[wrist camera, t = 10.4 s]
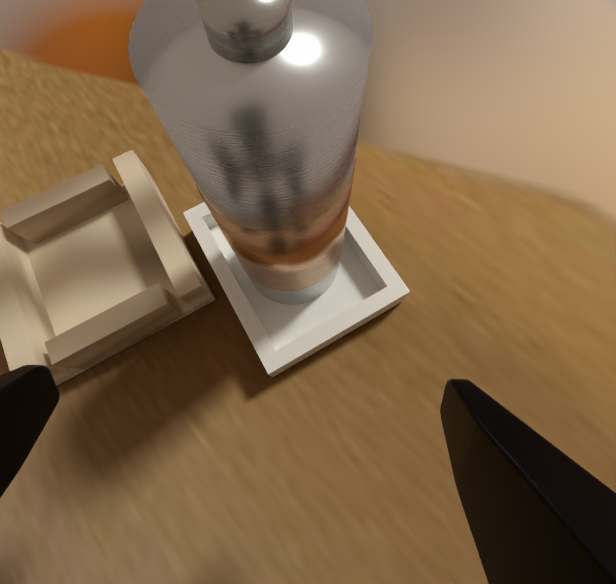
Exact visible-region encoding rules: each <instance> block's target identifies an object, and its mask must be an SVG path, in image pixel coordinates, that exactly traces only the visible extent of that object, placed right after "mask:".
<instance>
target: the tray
mask: <svg viewBox="0 0 616 584" xmlns="http://www.w3.org/2000/svg"><path fill="white" fill-rule="evenodd" d="M183 214H184V215H185V217H186V219H187V221H188V223H189V225H190V227H191V229H192V231H193V233H194V234H195V236H196V238H197V240H198V242H199V244H200V246H201V248H202V250H203V252H204V253H205V255H206V257H207V259H208V261H209V263H210V265H211V267H212V269H213V270H214V272H215V274H216V276H217V278H218V280H219V282H220V284H221V286H222V288H223V289H224V291H225V293H226V295H227V297H228V299H229V301H230V303H231V305H232V307H233V308H234V310H235V312H236V314H237V316H238V318H239V320H240V322H241V324H242V326H243V327H244V329H245V331H246V333H247V335H248V337H249V339H250V341H251V343H252V344H253V346H254V348H255V350H256V352H257V354H258V356H259V358H260V360H261V362H262V363H263V365H264V367H265V369H266V371H267V373H268V375H270V376H272V377H274V376H276V375H278V374H280V373H281V372H283V371H285V370H286V369H288V368H290V367H291V366H293V365H295V364H297V363H298V362H300V361H302V360H303V359H305V358H307V357H309V356H310V355H312V354H314V353H315V352H317V351H319V350H320V349H322V348H324V347H326V346H327V345H329V344H331V343H332V342H334V341H336V340H338V339H339V338H341V337H343V336H344V335H346V334H348V333H350V332H351V331H353V330H355V329H356V328H358V327H360V326H361V325H363V324H365V323H367V322H368V321H370V320H372V319H373V318H375V317H377V316H379V315H380V314H382V313H384V312H385V311H387V310H389V309H390V308H392V307H394V306H396V305H397V304H399V303H401V302H402V301H403V300H404V299H405V297H406V296H407V295H408V294H409V292H410V291H409V289H408V288H407V287H406V285H405V284H404V282H403V281H402V280H401V278H400V277H399V275H398V274H397V272H396V271H395V270H394V268H393V267H392V265H391V264H390V263H389V261H388V260H387V258H386V257H385V256H384V254H383V253H382V251H381V250H380V248H379V247H378V246H377V244H376V243H375V241H374V240H373V239H372V237H371V236H370V234H369V233H368V232H367V230H366V229H365V227H364V226H363V224H362V223H361V222H360V220H359V219H358V217H357V216H356V215H355V213H354V212H353V210H352V209H351V208H350V206H349V209H348V215H347V222H346V228H345V234H344V241H343V247H342V252H341V256H340V260H339V267H338V271H337V274H336V277H335V279H334V281H333V283H332V284H331V286H330V287H329V288H328V289H327V290H326V291H325V292H324V293H323V294H322V295H320V296H319V297H317V298H316V299H314V300H311V301H309V302H306V303H302V304H295V305H289V304H282V303H278V302H275V301H272V300H270V299H268V298H267V297H265V296H264V295H262V294H261V293H260V292H259V291H258V290H257V289H256V287H255V286H254V285H253V283H252V281H251V279H250V278H249V276H248V274H247V273H246V272H245V271H244V269H243V267H242V266H241V264H240V262H239V261H238V259H237V257H236V255H235V254H234V252H233V250H232V248H231V247H230V245H229V243H228V242H227V240H226V238H225V236H224V235H223V233H222V231H221V229H220V228H219V226H218V224H217V222H216V221H215V219H214V217H213V216H212V214H211V212H210V210H209V209H208V207H207V205H206V203H205V202H203V203H201V204H199V205H197V206H195V207H193V208H191V209H189V210H187V211H185V212H183Z"/></svg>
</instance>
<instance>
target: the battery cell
mask: <svg viewBox="0 0 616 584" xmlns="http://www.w3.org/2000/svg"><path fill="white" fill-rule="evenodd" d="M372 36H373V28H372V19H371V15H370V12H369V8H368V6H367V4H366V2H365V0H146V1H145V3H144V4H143V6H142V7H141V8H140V10H139V12H138V14H137V16H136V18H135V20H134V23H133V26H132V29H131V33H130V38H129V56H130V62H131V66H132V69H133V72H134V75H135V77H136V79H137V81H138V82H139V84H140V86H141V88H142V89H143V91H144V93H145V95H146V96H147V98H148V100H149V102H150V103H151V105H152V107H153V109H154V111H155V112H156V114H157V116H158V118H159V119H160V121H161V123H162V125H163V126H164V128H165V130H166V132H167V133H168V135H169V137H170V139H171V140H172V142H173V144H174V146H175V147H176V149H177V151H178V153H179V155H180V156H181V158H182V160H183V162H184V163H185V165H186V167H187V169H188V170H189V172H190V174H191V176H192V177H193V179H194V181H195V183H196V185H197V188H198V191H199V193H200V195H201V196H202V198H203V200H204V202H205V203H206V205H207V207H208V209H209V210H210V212H211V214H212V216H213V217H214V219H215V221H216V222H217V224H218V226H219V228H220V229H221V231H222V233H223V235H224V236H225V238H226V240H227V242H228V243H229V245H230V247H231V248H232V250H233V252H234V254H235V255H236V257H237V259H238V261H239V262H240V264H241V266H242V267H243V269H244V271H245V272H246V273H247V274H248V276H249V278H250V279H251V281H252V283H253V285H254V286H255V287H256V289H257V290H258V291H259V292H260V293H261V294H262V295H264V296H265V297H267V298H268V299H270V300H272V301H275V302H278V303H282V304H289V305H295V304H302V303H306V302H309V301H311V300H314V299H316V298H317V297H319V296H320V295H322V294H323V293H324V292H325V291H326V290H327V289H328V288H329V287H330V286H331V284H332V283H333V281H334V279H335V277H336V274H337V271H338V267H339V260H340V256H341V252H342V247H343V241H344V234H345V228H346V222H347V215H348V209H349V202H350V196H351V190H352V183H353V177H354V170H355V153H356V146H357V140H358V133H359V126H360V119H361V113H362V105H363V99H364V93H365V86H366V79H367V72H368V66H369V59H370V52H371V45H372Z"/></svg>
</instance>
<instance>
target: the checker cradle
mask: <svg viewBox="0 0 616 584" xmlns="http://www.w3.org/2000/svg"><path fill="white" fill-rule="evenodd" d="M113 161H114V163H115V166H116V168H117V170H118V172H119V174H120V176H121V178H122V180H123V182H124V184H123V185H121V184H120V183H119V182H118V180H117V179H116V178H115V177H114V176H113V175H112V174H111V173H110V172H109V171H108V169H107V168H106V167H105V166H104V165H103V164H100V165H98V166H96V167H94V168H92V169H90V170H87V171H85V172H83V173H81V174H79V175H77V176H75V177H72V178H70V179H68V180H66V181H64V182H62V183H59V184H57V185H55V186H53V187H51V188H49V189H47V190H44V191H42V192H40V193H38V194H36V195H34V196H32V197H29V198H27V199H25V200H23V201H21V202H19V203H17V204H14V205H12V206H10V207H8V208H6V209H4V210H1V214H2V217H3V220H4V223H5V225H4V224H3V223H1V222H0V339H1V342H2V346H3V349H4V353H5V356H6V359H7V363H8V366H9V370H10V371H12V370H15V369H17V368H19V367H22V366H24V365H44V366H47V367H48V368H49V369H50V371H51V374H52V376H53V378H54V381H55V383H56V386H58V385H60V384H61V383H63V382H65V381H67V380H69V379H71V378H72V377H74V376H76V375H78V374H80V373H82V372H84V371H85V370H87V369H89V368H91V367H93V366H95V365H97V364H98V363H100V362H102V361H104V360H106V359H108V358H109V357H111V356H113V355H115V354H117V353H119V352H121V351H122V350H124V349H126V348H128V347H130V346H132V345H133V344H135V343H137V342H139V341H141V340H143V339H145V338H146V337H148V336H150V335H152V334H154V333H156V332H157V331H159V330H161V329H163V328H165V327H167V326H169V325H170V324H172V323H174V322H176V321H178V320H180V319H181V318H183V317H185V316H187V315H189V314H191V313H193V312H194V311H196V310H198V309H200V308H202V307H204V306H206V305H207V304H209V303H211V302H213V301H215V298H214V296H213V294H212V292H211V290H210V288H209V286H208V284H207V282H206V280H205V278H204V276H203V274H202V272H201V271H200V269H199V267H198V265H197V263H196V261H195V259H194V257H193V255H192V253H191V251H190V249H189V247H188V245H187V243H186V241H185V239H184V237H183V235H182V234H181V232H180V230H179V228H178V226H177V224H176V222H175V220H174V218H173V216H172V214H171V212H170V210H169V208H168V206H167V204H166V202H165V200H164V199H163V197H162V195H161V193H160V191H159V189H158V187H157V185H156V183H155V181H154V179H153V177H152V176H151V174H150V173H149V172H148V170H147V169H146V168H145V166H144V165H143V164H142V162H141V161H140V159H139V158H138V157H137V155H136V154H135V153H134V151H133V150H130V151H128V152H126V153H124V154H122V155H120V156H117V157H115V158H113Z"/></svg>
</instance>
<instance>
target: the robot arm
mask: <svg viewBox="0 0 616 584" xmlns="http://www.w3.org/2000/svg"><path fill="white" fill-rule="evenodd" d="M58 401H59V390H58V388H57V386H56V383H55V381H54V378H53V376H52V374H51V371H50V369H49V368H48V367H47V366H44V365H24V366H22V367H19V368H17V369H15V370H12V371H10V372H8V373H5V374H3V375H1V376H0V498H1V496H2V495H3V493H4V492H5V490H6V489H7V488H8V486H9V485H10V483H11V482H12V480H13V479H14V477H15V476H16V474H17V473H18V471H19V470H20V468H21V467H22V465H23V463H24V462H25V460H26V458H27V457H28V455H29V453H30V451H31V449H32V448H33V446H34V444H35V442H36V441H37V439H38V437H39V435H40V434H41V432H42V430H43V428H44V427H45V425H46V423H47V421H48V419H49V418H50V416H51V414H52V412H53V411H54V409H55V407H56V405H57V403H58ZM440 414H441V420H442V425H443V429H444V434H445V438H446V443H447V447H448V452H449V456H450V461H451V465H452V470H453V474H454V479H455V483H456V487H457V490H458V493H459V496H460V500H461V503H462V506H463V509H464V512H465V515H466V518H467V521H468V524H469V526H470V529H471V532H472V535H473V538H474V541H475V544H476V547H477V550H478V553H479V556H480V559H481V562H482V565H483V568H484V571H485V574H486V577H487V580H488V583H489V584H616V493H615V492H614V491H612V490H611V489H610V488H608V487H607V486H606V485H604V484H603V483H602V482H601V481H599V480H598V479H597V478H595V477H594V476H593V475H591V474H590V473H589V472H588V471H586V470H585V469H584V468H582V467H581V466H580V465H578V464H577V463H576V462H575V461H573V460H572V459H571V458H569V457H568V456H567V455H565V454H564V453H563V452H562V451H560V450H559V449H558V448H556V447H555V446H554V445H553V444H551V443H550V442H549V441H547V440H546V439H545V438H543V437H542V436H541V435H540V434H538V433H537V432H536V431H534V430H533V429H532V428H530V427H529V426H528V425H527V424H525V423H524V422H523V421H521V420H520V419H519V418H517V417H516V416H515V415H514V414H512V413H511V412H510V411H508V410H507V409H506V408H504V407H503V406H502V405H501V404H499V403H498V402H497V401H495V400H494V399H493V398H492V397H490V396H489V395H488V394H486V393H485V392H484V391H482V390H481V389H480V388H479V387H477V386H476V385H475V384H473V383H472V382H471V381H469V380H466V379H450V380H448V381H447V383H446V386H445V390H444V395H443V399H442V403H441V409H440Z"/></svg>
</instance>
